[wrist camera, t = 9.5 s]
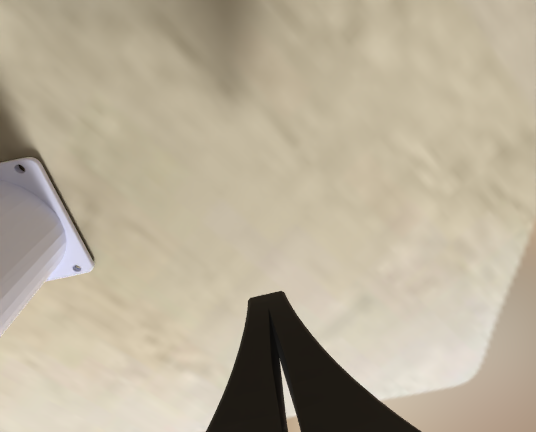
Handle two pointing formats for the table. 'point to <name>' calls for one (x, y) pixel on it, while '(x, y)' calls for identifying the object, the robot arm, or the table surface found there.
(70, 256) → the robot arm
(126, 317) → the table surface
